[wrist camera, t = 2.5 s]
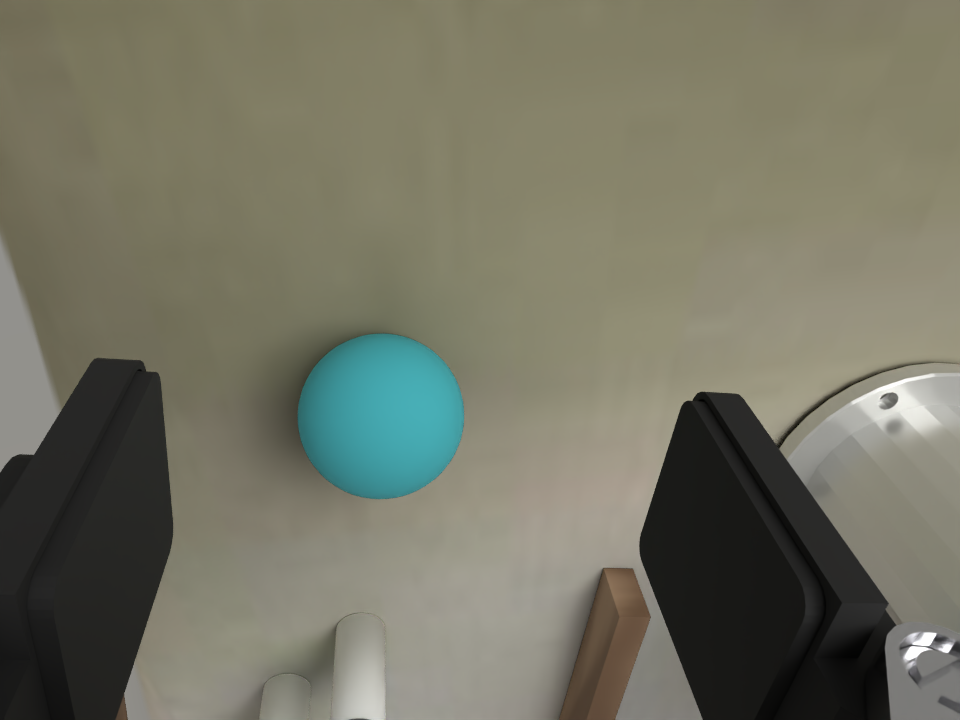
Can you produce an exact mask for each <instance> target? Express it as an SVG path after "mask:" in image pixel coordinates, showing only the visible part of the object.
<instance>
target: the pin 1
mask: <svg viewBox="0 0 960 720" xmlns="http://www.w3.org/2000/svg"><path fill="white" fill-rule="evenodd" d="M310 697H311V685H310V683H309V682H308V680H306V679H305V678H303V677H302V676H299V675H295V674H280V675H277V676H274V677H272V678H270V679H269V680H268V681H267V682H266V683H265V685H264V689H263V695H262V702H261V709H260V715H259V720H308V719H309V708H310Z"/></svg>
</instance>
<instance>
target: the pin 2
mask: <svg viewBox="0 0 960 720" xmlns="http://www.w3.org/2000/svg"><path fill="white" fill-rule="evenodd" d="M331 720H386V705H385V625H384V623H383V621H382V620H381V619H380V618H378V617H377V616H375V615H372V614H368V613H356V614H352V615H349V616H347V617H345V618H343V619H342V620H341V621H340V622H339V623H338V625H337V628H336V641H335V657H334V673H333V688H332V704H331Z"/></svg>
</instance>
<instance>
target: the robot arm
mask: <svg viewBox="0 0 960 720" xmlns="http://www.w3.org/2000/svg"><path fill="white" fill-rule="evenodd" d="M172 538H173V517H172V505H171V494H170V483H169V471H168V460H167V448H166V437H165V426H164V414H163V403H162V391H161V381H160V376H159V374H158V373H157V372H146V369H145V366H144V363H143V362H142V361H141V360H123V359H105V358H96V359H94V360H93V361H92V362H91V364H90V365H89V367H88V369H87V370H86V372H85V373H84V375H83V377H82V378H81V380H80V382H79V383H78V385H77V386H76V388H75V390H74V391H73V393H72V394H71V396H70V398H69V399H68V401H67V403H66V404H65V406H64V407H63V409H62V411H61V412H60V414H59V415H58V417H57V419H56V420H55V422H54V424H53V425H52V427H51V428H50V430H49V432H48V433H47V435H46V437H45V438H44V440H43V441H42V443H41V445H40V446H39V448H38V449H37V451H36V453H35V454H34V455H22V454H20V455H17V456H15V457H12V458H11V459H10V461H9V462H8V463H7V464H6V465H5V467H4V468H3V469H2V471H1V472H0V720H116V717H117V714H118V711H119V708H120V705H121V702H122V699H123V696H124V692H125V689H126V686H127V683H128V680H129V677H130V674H131V671H132V668H133V665H134V661H135V658H136V655H137V652H138V649H139V646H140V643H141V640H142V637H143V634H144V630H145V627H146V624H147V621H148V618H149V615H150V612H151V609H152V606H153V603H154V600H155V596H156V593H157V590H158V587H159V584H160V581H161V578H162V575H163V572H164V569H165V565H166V562H167V559H168V556H169V553H170V549H171V545H172ZM639 547H640V557H641V560H642V563H643V566H644V568H645V571H646V574H647V576H648V579H649V581H650V584H651V587H652V589H653V592H654V594H655V597H656V599H657V602H658V605H659V607H660V610H661V612H662V615H663V618H664V620H665V623H666V625H667V628H668V630H669V633H670V636H671V638H672V641H673V643H674V646H675V649H676V651H677V654H678V656H679V659H680V662H681V664H682V667H683V669H684V672H685V674H686V677H687V680H688V682H689V685H690V687H691V690H692V693H693V695H694V698H695V700H696V703H697V705H698V708H699V711H700V713H701V716H702V718H703V720H960V364H948V363H928V364H919V365H910V366H905V367H902V368H898V369H894V370H890V371H887V372H883V373H880V374H878V375H875V376H873V377H870V378H868V379H866V380H863V381H861V382H859V383H856V384H854V385H852V386H851V387H849V388H847V389H846V390H844V391H842V392H840V393H839V394H837V395H835V396H834V397H832V398H830V399H829V400H827V401H826V402H825V403H824V404H822V405H821V406H820V407H819V408H817V409H816V410H815V411H813V412H812V413H811V414H810V415H808V416H807V417H806V418H805V419H804V420H803V421H802V422H801V423H800V424H799V425H798V426H797V427H796V428H795V430H794V431H793V432H792V433H791V434H790V435H789V436H788V437H787V438H786V440H785V441H784V443H783V444H782V446H781V447H780V448H778V447H777V445H776V444H775V443H774V441H773V440H772V438H771V437H770V436H769V434H768V433H767V431H766V430H765V429H764V427H763V426H762V424H761V423H760V421H759V420H758V419H757V417H756V416H755V414H754V413H753V412H752V410H751V409H750V407H749V406H748V405H747V403H746V402H745V400H744V399H743V398H742V397H741V396H740V395H739V394H732V393H714V392H700V393H697V395H696V396H695V397H694V399H693V401H686V402H684V404H683V405H682V407H681V409H680V412H679V415H678V419H677V422H676V425H675V428H674V431H673V434H672V438H671V441H670V444H669V447H668V450H667V453H666V457H665V460H664V463H663V466H662V469H661V472H660V476H659V479H658V482H657V485H656V488H655V491H654V494H653V498H652V501H651V504H650V507H649V510H648V513H647V517H646V520H645V523H644V526H643V529H642V532H641V536H640V544H639Z"/></svg>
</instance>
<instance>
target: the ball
mask: <svg viewBox="0 0 960 720" xmlns="http://www.w3.org/2000/svg"><path fill="white" fill-rule="evenodd" d="M463 426H464V406H463V400H462V396H461V392H460V388H459V386H458V383H457V381H456V379H455V377H454V375H453V374H452V372H451V370H450V369H449V367H448V366H447V365H446V364H445V362H444V361H443V360H442V359H441V358H440V357H439V356H438V355H437V354H436V353H434V352H433V351H432V350H431V349H429V348H428V347H426V346H425V345H423V344H421V343H419V342H417V341H415V340H412V339H410V338H407V337H404V336H399V335H394V334H368V335H364V336H359V337H357V338H354V339H351V340H348V341H346V342H344V343H342V344H340V345H338V346H337V347H335V348H334V349H332V350H331V351H330V352H329V353H327V354H326V355H325V356H324V357H323V358H322V359H321V360H320V361H319V362H318V363H317V365H316V366H315V367H314V368H313V370H312V371H311V373H310V375H309V376H308V378H307V380H306V382H305V384H304V387H303V389H302V393H301V396H300V400H299V406H298V429H299V434H300V438H301V442H302V445H303V447H304V450H305V452H306V454H307V456H308V458H309V459H310V461H311V463H312V464H313V465H314V467H315V468H316V469H317V470H318V471H319V473H320V474H321V475H322V476H323V477H324V478H325V479H326V480H328V481H329V482H331V483H332V484H333V485H335V486H336V487H338V488H340V489H341V490H343V491H345V492H348V493H350V494H353V495H356V496H359V497H364V498H371V499H389V498H396V497H401V496H404V495H407V494H410V493H413V492H415V491H417V490H419V489H421V488H423V487H424V486H426V485H427V484H429V483H430V482H431V481H433V480H434V479H435V478H436V477H438V476H439V475H440V474H441V473H442V471H443V470H444V469H445V468H446V466H447V465H448V464H449V462H450V461H451V460H452V458H453V456H454V454H455V452H456V450H457V448H458V445H459V443H460V440H461V436H462V431H463Z"/></svg>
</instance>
